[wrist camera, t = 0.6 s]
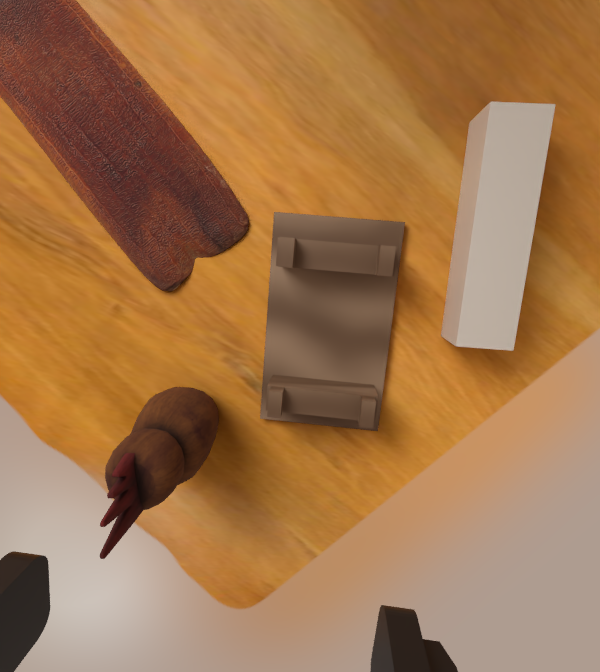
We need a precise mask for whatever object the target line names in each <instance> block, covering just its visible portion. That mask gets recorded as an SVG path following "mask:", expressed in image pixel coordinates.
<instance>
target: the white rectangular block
mask: <svg viewBox="0 0 600 672" xmlns="http://www.w3.org/2000/svg"><path fill="white" fill-rule="evenodd" d="M554 110H555V104H539V103H513V102H490V103H489V104H488V105H487V106H486V107H485V108H484V109H483V110H482V111H481V112H480V113H478V114H477V115H476V116H475V117H474V118H473V119H472V120H471V121H470V123H469V130H468V138H467V145H466V152H465V160H464V167H463V175H462V182H461V190H460V197H459V205H458V212H457V220H456V227H455V235H454V242H453V250H452V257H451V264H450V272H449V279H448V287H447V294H446V302H445V309H444V317H443V324H442V332H441V336H442V337H443V338H444V339H446V340H447V341H449V342H450V343H452V344H453V345H455V346H457V347H471V348H484V349H497V350H510V351H513V350H514V345H515V339H516V333H517V327H518V321H519V315H520V309H521V304H522V298H523V292H524V286H525V280H526V274H527V268H528V263H529V257H530V251H531V245H532V239H533V233H534V227H535V222H536V216H537V210H538V204H539V198H540V192H541V186H542V181H543V175H544V169H545V163H546V157H547V151H548V145H549V140H550V134H551V128H552V122H553V116H554Z"/></svg>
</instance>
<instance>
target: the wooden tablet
mask: <svg viewBox="0 0 600 672" xmlns="http://www.w3.org/2000/svg"><path fill="white" fill-rule="evenodd" d="M0 96H1V98H2V99H3V100H4V101H5V102H6V103H7V105H8V106H9V107H10V108H11V110H12V111H13V112H14V114H15V115H16V116H17V117H18V118H19V120H20V121H21V122H22V124H23V125H24V126H25V127H26V129H27V130H28V131H29V132H30V134H31V135H32V136H33V137H34V139H35V140H36V142H38V144H39V145H40V147H41V148H42V149H43V150H44V152H45V153H46V154H47V155H48V157H49V158H50V160H51V161H52V162H53V164H54V165H55V166H56V168H57V169H58V170H59V171H60V173H61V174H62V175H63V176H64V178H65V179H66V180H67V182H68V183H69V184H70V186H71V187H72V188H73V189H74V191H75V192H76V193H77V194H78V196H79V197H80V198H81V200H82V201H83V202H84V204H85V205H86V206H87V207H88V209H89V210H90V211H91V212H92V213H93V215H94V216H95V217H96V218H97V220H98V221H99V222H100V224H101V225H102V226H103V227H104V228H105V229H106V230H107V232H108V233H109V234H110V235H111V237H112V238H113V239H114V240H115V241H116V242H117V244H118V245H119V246H120V247H121V249H122V250H123V251H124V252H125V254H126V255H127V256H128V257H129V259H130V260H131V261H132V262H133V263H134V264H135V265H136V266H137V268H138V269H139V270H140V271H141V272H142V273H143V275H144V276H145V277H146V278H148V279H149V280H150V281H151V282H152V283H153V284H154V285H155V286H156V287H158V288H159V289H161V290H163V291H173V290H175V289H176V288H177V287H178V286H179V285H180V284H181V283H182V282H183V281H184V280H185V279H186V278H187V277H188V276H189V275H190V273H191V272H192V270H193V266H194V261H195V259H196V258H197V257H200V258H203V257H212V256H214V255H217V254H219V253H221V252H223V251H225V250H226V249H228V248H229V247H230V246H232V245H234V244H235V243H236V242H237V241H239V240H240V239H241V238H242V237H243V236H244V235H245V234H246V232H247V230H248V223H249V221H248V217H247V214H246V213H245V211H244V209H243V208H242V206H241V205H240V203H239V201H238V200H237V199H236V197H235V195H234V194H233V192H232V191H231V189H230V188H229V186H228V185H227V183H226V182H225V180H224V179H223V178H222V176H221V175H220V174H219V172H218V171H217V170H216V168H215V167H214V165H213V164H212V163H211V161H210V160H209V158H208V157H207V156H206V154H205V153H204V152H203V151H202V149H201V148H200V147H199V145H198V144H197V143H196V141H195V140H194V139H193V138H192V136H191V135H190V134H189V133H188V132H187V130H186V129H185V128H184V126H183V125H182V124H181V123H180V122H179V120H178V119H177V118H176V117H175V115H174V114H173V113H172V112H171V110H170V109H169V108H168V107H167V106H166V104H165V103H164V102H163V101H162V99H161V98H160V97H159V96H158V95H157V94H156V93H155V91H154V90H153V89H152V88H151V87H150V86H149V85H148V84H147V82H146V81H145V80H144V79H143V78H142V76H141V75H140V74H139V73H138V72H137V71H136V69H135V68H134V67H133V66H132V65H131V63H130V62H129V61H128V60H127V59H126V57H125V56H124V55H123V54H122V53H121V52H120V51H119V49H118V48H117V47H116V46H115V45H114V44H113V43H112V41H111V40H110V39H109V38H108V37H107V36H106V34H105V33H104V32H103V31H102V30H101V29H100V28H99V27H98V26H97V24H96V23H95V22H94V21H93V20H92V19H91V17H90V16H89V15H88V14H87V13H86V12H85V10H84V9H83V8H82V7H81V6H80V5H79V3H78V2H77V1H76V0H0Z"/></svg>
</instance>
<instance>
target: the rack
mask: <svg viewBox="0 0 600 672" xmlns="http://www.w3.org/2000/svg"><path fill="white" fill-rule="evenodd" d="M404 226H405V222H394V221H381V220H368V219H356V218H343V217H331V216H318V215H306V214H293V213H280V212H274V224H273V238H272V253H271V268H270V282H269V297H268V312H267V327H266V341H265V356H264V371H263V385H262V400H261V415H260V418H261V419H270V420H279V421H289V422H298V423H307V424H317V425H326V426H335V427H345V428H354V429H363V430H373V431H378V425H379V418H380V410H381V402H382V395H383V387H384V379H385V371H386V364H387V356H388V348H389V341H390V333H391V325H392V318H393V310H394V302H395V295H396V287H397V279H398V272H399V264H400V256H401V249H402V241H403V233H404Z"/></svg>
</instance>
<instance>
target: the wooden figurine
mask: <svg viewBox="0 0 600 672" xmlns="http://www.w3.org/2000/svg"><path fill="white" fill-rule="evenodd" d="M218 423H219V416H218V408H217V407H216V405H215V403H214V401H213V399H212V398H211V397H209V396H208V395H207V394H206V393H205V392H203V391H200V390H197V389H194V388H184V387H174V388H171V389H168V390H166V391H163V392H161V393H158V394H156V395H155V396H153V397H152V398H151V399H149V401H148V402H147V403H146V405H145V406H144V408H143V409H142V411H141V413H140V414H139V416H138V417H137V420H136V422H135V425H134V427H133V430H132V432H131V434H130V435H129V436H127V437H126V438H125V439H124V440H123V441H122V442H121V443H120V444H119V445H118V446H117V448H116V449H115V450H114V451H113V453H112V455H111V457H110V459H109V461H108V463H107V465H106V473H105V478H106V483H107V486H108V490H109V493H108V495H107V496H108V498H114V499H115V500H114V502H113V503H112V505H111V506H110V508H109V510H108V511H107V513H106V514H105V516H104V518H103V519H102V521H101V523H100V526H101V527H105V526H106V525H107V524H109V523H110V522H111V521H112V520H114V519H115V518H116V517H117V516H118V517H117V519H116V521H115V524H114V526H113V528H112V530H111V532H110V534H109V536H108V539H107V541H106V543H105V545H104V547H103V549H102V551H101V553H100V558H101V559H104V558H105V557H106V556H107V555H108V554H109V553H110V551H111V550H112V549H113V548H114V546H115V545H116V544H117V542H118V541H119V540H120V539H121V538H122V536H123V535H124V534H125V533H126V532H127V530H128V529H129V528H130V527H131V525H132V524H133V523H134V522H135V520H136V519H137V518H138V516H139V515H140V514H141V512H142V511H143V510H146V509H149V508H152V507H154V506H156V505H158V504H160V503H161V502H163V501H164V500H165V499H166V498H167V497H168V496H169V495H170V494H171V493H172V492H173V491H174V489H175V488H176V486H177V485H179V484H181V483H183V482H185V481H187V480H188V479H190V478H192V477H193V476H194V475H195V474H196V472H197V471H198V470H199V468H200V467H201V465H202V464H203V462H204V461H205V459H206V458H207V456H208V454H209V452H210V450H211V447H212V444H213V442H214V439H215V437H216V433H217V428H218Z"/></svg>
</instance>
